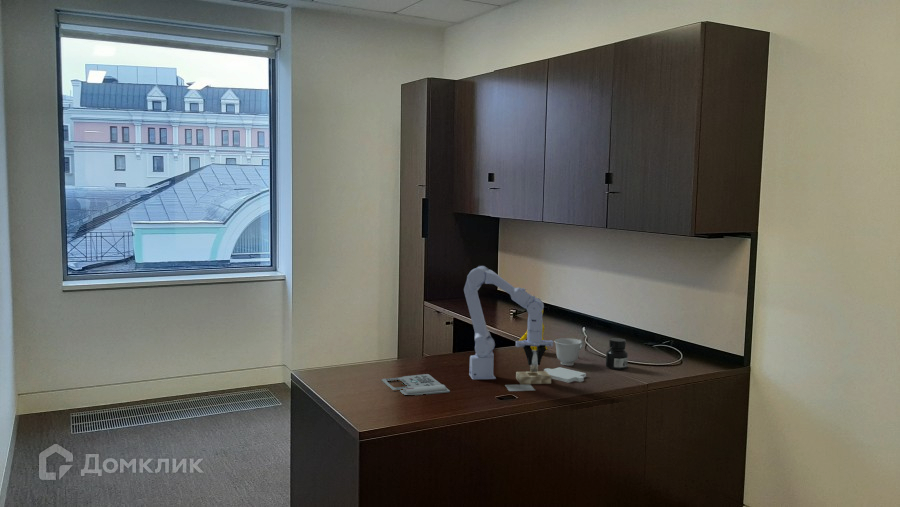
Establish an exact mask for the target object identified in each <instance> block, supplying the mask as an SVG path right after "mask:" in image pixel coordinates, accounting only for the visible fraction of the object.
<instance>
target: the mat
mask: <svg viewBox="0 0 900 507" xmlns="http://www.w3.org/2000/svg"><path fill="white" fill-rule="evenodd" d="M504 386H505V387H506V389H507V390H508V392H526V391H527V392H528V391H536V389H535V388H534V386H532V384H505V385H504Z"/></svg>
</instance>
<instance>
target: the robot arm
mask: <svg viewBox="0 0 900 507" xmlns="http://www.w3.org/2000/svg"><path fill="white" fill-rule="evenodd" d="M483 284H486V285H488V284H489V285H494V286H496V288H497V287H498V288H499V289H501V290H502V291H504V292H505V293H507V294H509V296H510V298H511V300H512V301H513V302H515V303H516V304H518V305H519V306H520V307H522V308H523V309H525V310H526V312H527V315H528V316H527V330H526V331H527V338H526V339H527V340H526V339H525V340H524V341H519V340H516V341H515V347H516V348H522V349H523V350H524V353H525V356H526V360H527V365H528V366H530V365H531V353H532V349H531V347H530V346H537V350H538V366H540V365H541V362H542V358H543V356H544V354H545V352H546V351H547V350H546V347H554V340H550V339H548V340H547V339H544V340H542V322H543V320H544V319H543V315H542V310H543V311H544V307H545V304H544V302H543V301H542V299H540V298H537V297H536V296H535V295H532V294H530V293H529V292H527V291H526V288H525V287H514V286H513V285H512V284H511V283H509V282H508V281H507V280H505V279H504V278H503V277H501V276H500V275H499V274H497V273H496V272H495V271H493V270H492V269H489V268H488V267H486V266H485V265H478V266H477V267H476V268H473V269H471V270H470V271H469V273H468V274H467V276H466V281H465V284H464V287H463V292H464V297H465V300H466V304H467V308H468V312H469V315H470V318H471V323H472V327H473V330H474V351H475V354H473V355H470V356H469V371H468V372H469V373H468V375H469V376H470V378H471V379H472V380H497V377H496V376H495V375H494V362H495V360H494V356H495V354H494V352H493V350H494V349H495V346H496V343H495V339H494V338H493V337H492V335H491V333H490V331H489V330H488V327H487V323H486V319H485V316H484V313H483V308H482V304H481V300H480V298H479V292H478V291H479V290H480V288H481V287H482V285H483ZM543 323H544V322H543ZM545 346H546V347H545Z"/></svg>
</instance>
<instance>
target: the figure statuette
mask: <svg viewBox="0 0 900 507" xmlns="http://www.w3.org/2000/svg"><path fill="white" fill-rule="evenodd" d="M543 314H544V309H543V310H542V316H543ZM544 333H545V325H544V322H542V340H545V339H544ZM526 339H527V330H526V332H525V333H524V334H523V335H522V336H521V337H520V339H519V340H518V341H524V340H526ZM530 347H531V349H532V350H537V346H530ZM545 347H546V351H547V350H548V348H547V347H548V346H545Z"/></svg>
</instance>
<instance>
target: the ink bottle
mask: <svg viewBox="0 0 900 507" xmlns="http://www.w3.org/2000/svg"><path fill="white" fill-rule="evenodd" d="M626 343H627V340H626V339H624V338H619V337H613V338H609V340H608V348H609V349H608V350H606V352H605V367H606V368H608V369H610V370H617V371H622V370H626V369H627V368H628V358H629V356H628V355H629V354H628V352H627V350H626V345H627V344H626Z"/></svg>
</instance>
